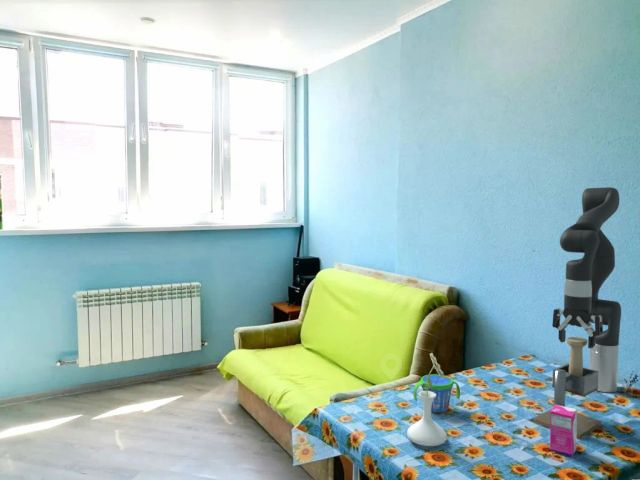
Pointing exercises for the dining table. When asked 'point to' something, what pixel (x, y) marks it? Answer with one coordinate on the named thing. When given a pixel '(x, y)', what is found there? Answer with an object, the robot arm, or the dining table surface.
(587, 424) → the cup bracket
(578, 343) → the handle
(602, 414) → the dining table surface
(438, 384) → the snack cup
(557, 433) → the supplement box
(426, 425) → the flower in vase
